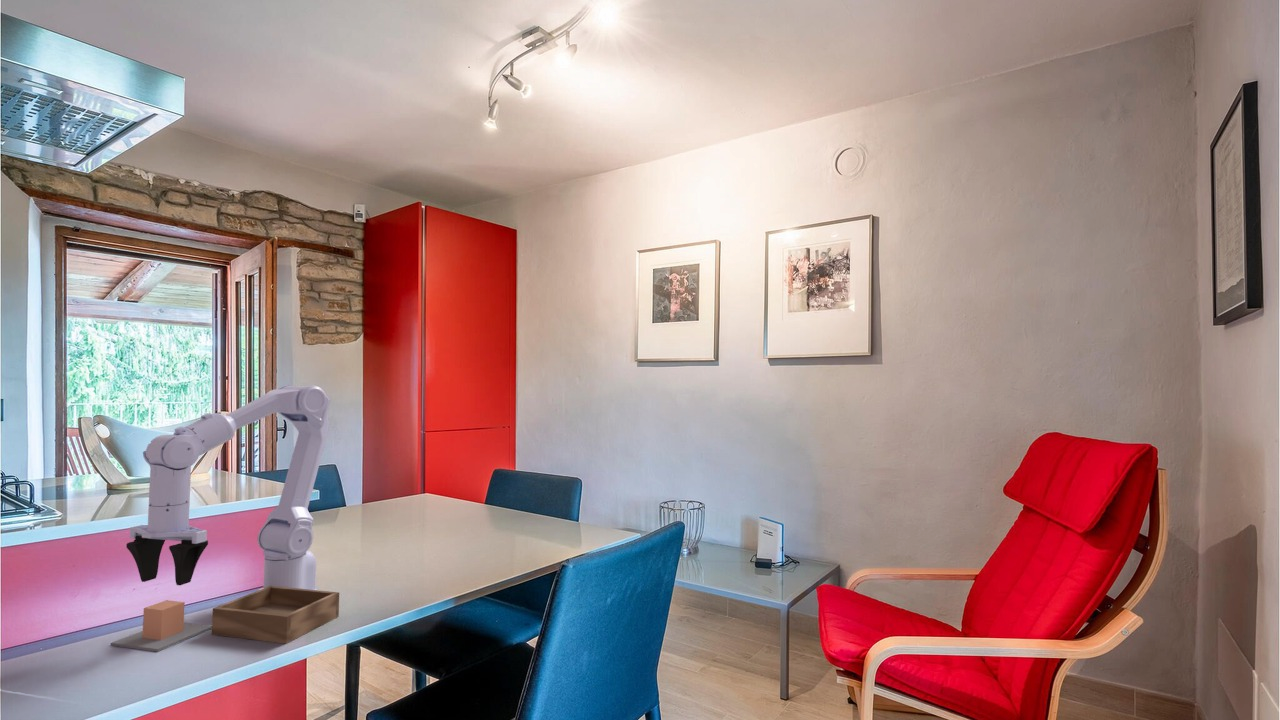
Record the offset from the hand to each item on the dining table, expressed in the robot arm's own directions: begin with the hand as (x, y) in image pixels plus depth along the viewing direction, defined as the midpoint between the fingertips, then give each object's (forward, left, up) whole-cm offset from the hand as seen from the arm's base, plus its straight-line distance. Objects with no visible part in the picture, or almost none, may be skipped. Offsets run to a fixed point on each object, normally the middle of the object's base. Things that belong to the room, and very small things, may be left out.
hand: (166, 581), depth 106 cm
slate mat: (0, 0, -9) cm, 9 cm away
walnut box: (-9, +15, -9) cm, 20 cm away
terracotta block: (0, 0, -9) cm, 9 cm away
